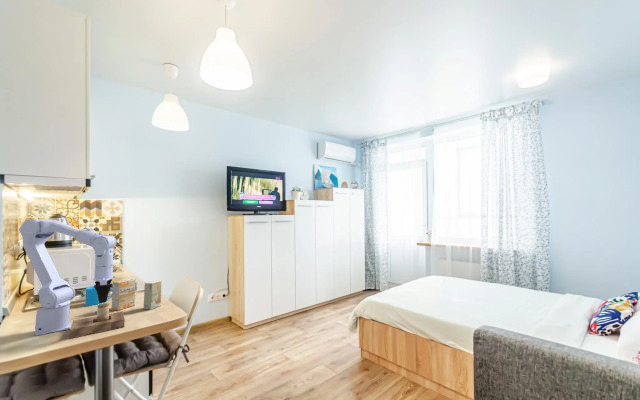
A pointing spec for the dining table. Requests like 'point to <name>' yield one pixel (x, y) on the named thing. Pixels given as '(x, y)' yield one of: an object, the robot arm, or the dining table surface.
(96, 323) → the socket board
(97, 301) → the mug
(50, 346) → the dining table surface
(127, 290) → the supplement box
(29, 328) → the dining table surface
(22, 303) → the dining table surface
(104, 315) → the pin
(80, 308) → the dining table surface
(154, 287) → the skincare box
